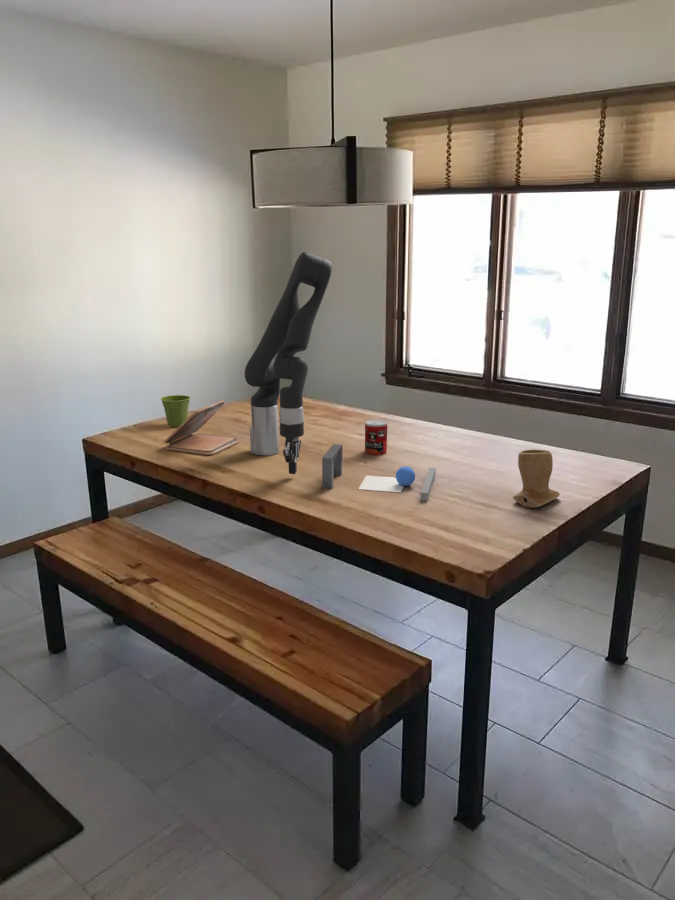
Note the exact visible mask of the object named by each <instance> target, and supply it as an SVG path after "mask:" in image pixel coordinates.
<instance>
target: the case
mask: <svg viewBox="0 0 675 900" xmlns="http://www.w3.org/2000/svg"><path fill="white" fill-rule="evenodd" d="M224 405H225V400H224V399H223V400H220V401H216V402H214V403H212V404H209V405H207V406H205V407H202V408H200V409H198V410H196V411H194V412H193V413H191V414H190V415H189V417H188V416H187V419H186V420H185V421H184V422H183V423H182V424H181V425H180V426H179V427H176V429H175V430H173V432H172V433H171V434H170V435H169V436H168V437H167V438H165V440H164V442H163V443H164V444H168V445H167V446H166V447H165V449H166V450H167V451H173V452H180V453H188V454H196V455H203V456H214V455H216V454H219V453H220V452H223V451H225V450H227V449H229V448H231V447H233V446H235V445H238V444H239V443H240V440H239V439H237V438H235V437H229V436H224V435H223V436H222V435H215V434H207V433H197V431H199V430H200V429H201V428H202V427H203V426H204V425H205V424H206V423H207V422H208V421H209V420H210V419H212V417H213V416H214V415H215V414H216V413H217V412H218V411H220V410H221V409H222V408H223V406H224Z"/></svg>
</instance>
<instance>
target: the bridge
mask: <svg viewBox="0 0 675 900" xmlns="http://www.w3.org/2000/svg"><path fill="white" fill-rule="evenodd" d="M321 470H322V471H321V479H322V480H321V481H322V482H321V483H322V484H321V485H322V487H321V488H322V489H329V490H331V489H333V488H334V476H342V475H343V444H340V443H332V445H331V446H330V448H329V449H328V450H327V451H326V452H325V454H324V455H323V456H322V457H321Z"/></svg>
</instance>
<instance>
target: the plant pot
mask: <svg viewBox="0 0 675 900" xmlns="http://www.w3.org/2000/svg"><path fill="white" fill-rule="evenodd" d="M191 398H192V397H191V396H190V395H184V394H175V395H174V394H173V395H165V396H162V397H161V398H160V401H162V402H161V403H162V407H163V408H164V413H165V417H166V418H165V419H166V421H167V426H168V427H170V428H172V427H174V428H178V427H179V426H180V425H181V424H182V423H183V422H184V421H185V420H186V419H187V418H188V412H189V405H190V400H191Z"/></svg>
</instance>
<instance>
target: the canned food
mask: <svg viewBox="0 0 675 900" xmlns="http://www.w3.org/2000/svg"><path fill="white" fill-rule="evenodd" d="M364 424H365V426H364V451H365V454H367V455H369V456H383V455H384V454H386V453H387V451H388V449H387V448H388V422H387V421H386V420H383V419H368V420H367V421H365V423H364Z"/></svg>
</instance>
